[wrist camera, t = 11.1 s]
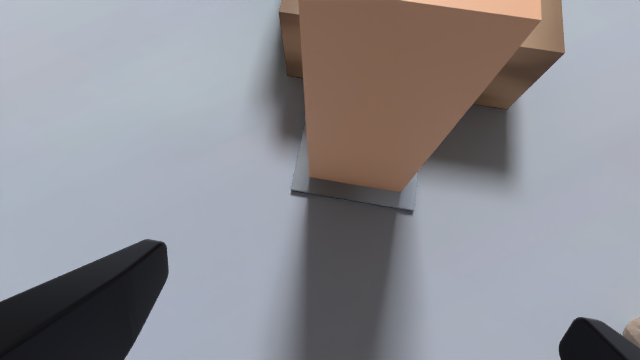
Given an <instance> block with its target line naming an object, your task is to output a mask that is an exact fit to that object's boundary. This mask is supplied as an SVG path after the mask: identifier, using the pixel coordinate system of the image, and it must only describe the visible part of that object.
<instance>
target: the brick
mask: <svg viewBox="0 0 640 360" xmlns="http://www.w3.org/2000/svg"><path fill="white" fill-rule="evenodd" d="M623 337H625V338H626V339H628V340H629V341H630V342H632V343H633V344H635V345H636V346H638V347H639V348H640V318H637V319H634V320H632V321H631V322H630V323H629V324H628V325H627V326H626V328H625V330H624V332H623Z"/></svg>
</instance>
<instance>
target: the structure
mask: <svg viewBox="0 0 640 360" xmlns="http://www.w3.org/2000/svg"><path fill="white" fill-rule="evenodd" d="M279 17H280V24H281V32H282V39H283V47H284V54H285V62H286V69H287V75H288V76H294V77H301V78H303V68H302V52H301V36H300V20H299V4H298V0H282V2H281V5H280V9H279ZM541 18H542V20H541V21H540V23H539V24H538V25H537V26H536V27H535V29H534V30H533V31H532V32H531V34H530V35H529V36H528V37H527V38H526V40H525V41H524V42H523V43H522V45H521V46H520V47H519V48H518V50H517V51H516V52H515V53H514V54H513V56H512V57H511V58H510V59H509V61H508V62H507V63H506V64H505V65H504V67H503V68H502V69H501V70H500V72H499V73H498V74H497V75H496V76H495V78H494V79H493V80H492V81H491V83H490V84H489V85H488V86H487V87H486V89H485V90H484V91H483V92H482V94H481V95H480V96H479V97H478V98H477V100H476V101H475V102H474V103H473V104H477V105H483V106H490V107H496V108H503V109H508V108H509V107H510V106H511V105H512V104H513V103H514V102H515V101H516V100H517V99H518V98H519V97H520V96H521V95H522V94H523V93H524V92H525V91H526V90H527V89H528V88H529V87H530V86H532V85H533V84H534V83H535V82H536V81H537V80H538V79H539V78H540V77H541V76H542V75H543V74H544V73H545V72H546V71H547V70H548V69H549V68H550V67H551V66H552V65H553V64H554V63H555V62H556V61H557V60H558V59H559V58H560V57H561V56H562V55H563V54H564V53H565V48H564V33H563V18H562V3H561V0H541ZM417 173H418V172H417ZM417 173H416V174H415V176H414V177H413V178H412V179H411V180H410V182H409V183H408V184H407V185H406V187H405V188H404V189H403V190H402V191H401V192H396V191H390V190H384V189H378V188H372V187H365V186H359V185H353V184H347V183H341V182H335V181H329V180H323V179H317V178H311V177H309V163H308V147H307V131H306V119H305V123H304V128H303V133H302V138H301V143H300V147H299V152H298V157H297V162H296V166H295V171H294V176H293V181H292V186H291V190H292V191H298V192H304V193H310V194H316V195H322V196H328V197H333V198H339V199H345V200H351V201H357V202H363V203H369V204H375V205H381V206H387V207H393V208H399V209H405V210H411V211H414V207H415V196H416V184H417Z"/></svg>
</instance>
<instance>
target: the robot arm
mask: <svg viewBox="0 0 640 360" xmlns="http://www.w3.org/2000/svg"><path fill="white" fill-rule="evenodd" d="M168 270H169V269H168V257H167V247H166V244H165V243H164V242H162V241H156V240H150V239H146V240H143V241H140V242H138V243H136V244H133V245H131V246H129V247H126V248H124V249H122V250H119V251H117V252H115V253H113V254H110V255H108V256H106V257H103V258H101V259H99V260H96V261H94V262H92V263H89V264H87V265H85V266H82V267H80V268H78V269H75V270H73V271H71V272H68V273H66V274H64V275H61V276H59V277H57V278H54V279H52V280H50V281H47V282H45V283H43V284H40V285H38V286H36V287H33V288H31V289H29V290H27V291H24V292H22V293H20V294H17V295H15V296H13V297H10V298H8V299H6V300H3V301H1V302H0V360H124V359H125V357H126V356H127V354H128V353H129V351H130V349H131V348H132V346H133V344H134V343H135V341H136V339H137V337H138V335H139V333H140V331H141V329H142V327H143V326H144V324H145V322H146V320H147V318H148V316H149V314H150V312H151V310H152V308H153V306H154V304H155V302H156V300H157V298H158V296H159V294H160V292H161V290H162V288H163V286H164V284H165V282H166V280H167V277H168ZM559 355H560V358H561V360H640V348H639V347H638V346H636V345H635V344H633V343H632V342H630V341H629V340H628V339H626V338H625V337H623V336H622V335H621V334H619V333H618V332H616V331H615V330H613V329H612V328H611V327H609V326H608V325H606V324H605V323H603V322H601V321H599V320H595V319H590V318H584V317H578V318H576V319H575V320H574V321H573V322H572V324H571V325H570V327H569V329H568V330H567V332H566V333H565V335H564V336H563V338H562V340H561V341H560V344H559Z"/></svg>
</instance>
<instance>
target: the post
mask: <svg viewBox="0 0 640 360" xmlns="http://www.w3.org/2000/svg"><path fill="white" fill-rule="evenodd" d="M298 4H299V20H300V36H301V52H302V68H303V84H304V99H305V115H306V131H307V147H308V163H309V177H311V178H317V179H323V180H329V181H335V182H341V183H347V184H353V185H359V186H365V187H372V188H378V189H384V190H390V191H396V192H401V191H402V190H403V189H404V188H405V187H406V185H407V184H408V183H409V182H410V180H411V179H412V178H413V177H414V176H415V174H416V173H417V172H418V171H419V169H420V168H421V167H422V166H423V164H424V163H425V162H426V161H427V160H428V158H429V157H430V156H431V155H432V153H433V152H434V151H435V150H436V149H437V147H438V146H439V145H440V144H441V142H442V141H443V140H444V139H445V138H446V136H447V135H448V134H449V133H450V131H451V130H452V129H453V128H454V127H455V125H456V124H457V123H458V122H459V120H460V119H461V118H462V117H463V116H464V114H465V113H466V112H467V111H468V109H469V108H470V107H471V106H472V105H473V103H474V102H475V101H476V100H477V98H478V97H479V96H480V95H481V94H482V92H483V91H484V90H485V89H486V87H487V86H488V85H489V84H490V83H491V81H492V80H493V79H494V78H495V76H496V75H497V74H498V73H499V72H500V70H501V69H502V68H503V67H504V65H505V64H506V63H507V62H508V61H509V59H510V58H511V57H512V56H513V54H514V53H515V52H516V51H517V50H518V48H519V47H520V46H521V45H522V43H523V42H524V41H525V40H526V38H527V37H528V36H529V35H530V34H531V32H532V31H533V30H534V29H535V27H536V26H537V25H538V24H539V23H540V21H541V20H542V18H541V0H298Z"/></svg>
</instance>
